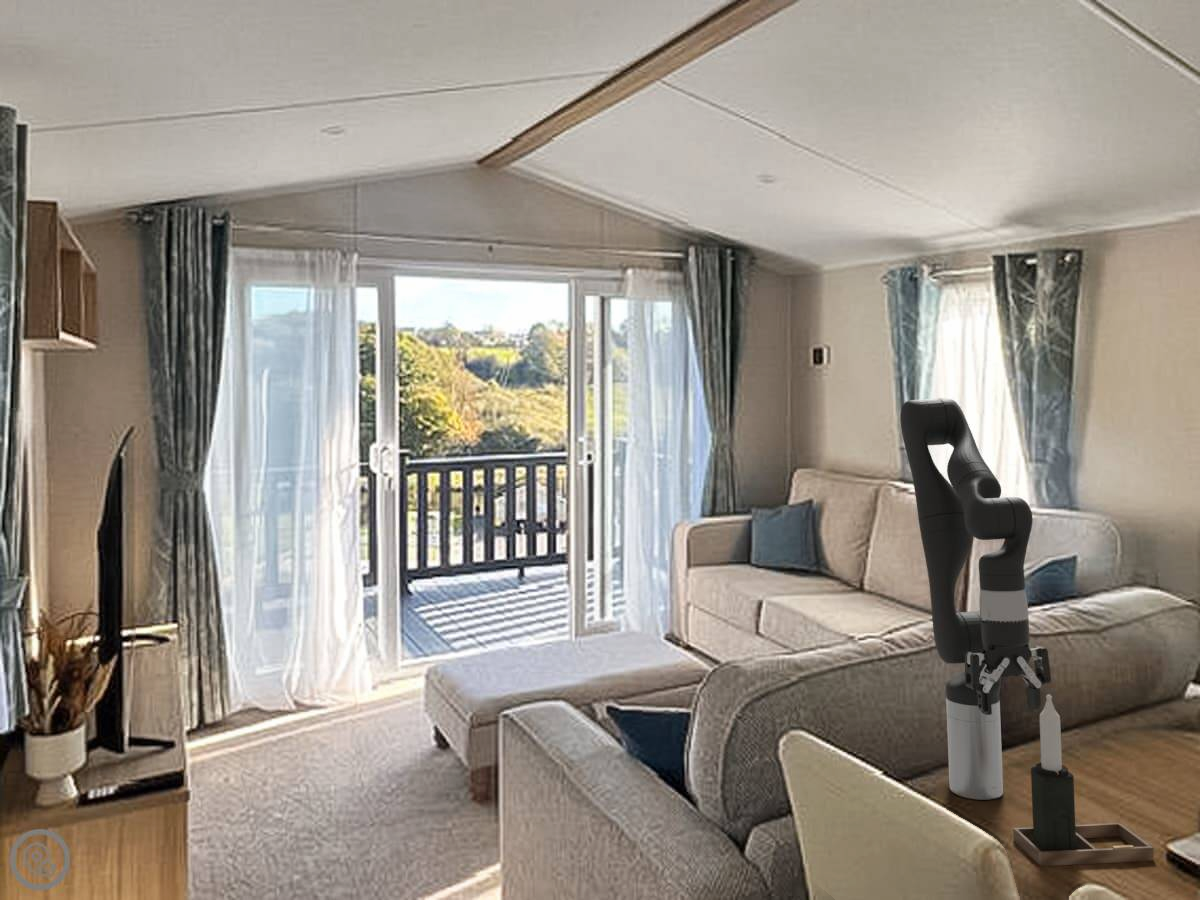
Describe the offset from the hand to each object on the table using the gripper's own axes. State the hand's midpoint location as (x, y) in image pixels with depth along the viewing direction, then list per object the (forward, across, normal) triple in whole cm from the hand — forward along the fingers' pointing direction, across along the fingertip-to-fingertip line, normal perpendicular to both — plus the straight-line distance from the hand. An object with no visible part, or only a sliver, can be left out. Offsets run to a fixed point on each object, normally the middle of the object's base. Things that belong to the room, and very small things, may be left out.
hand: (1009, 711), depth 155 cm
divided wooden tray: (+20, -5, +10) cm, 23 cm away
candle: (+20, 0, +10) cm, 22 cm away
